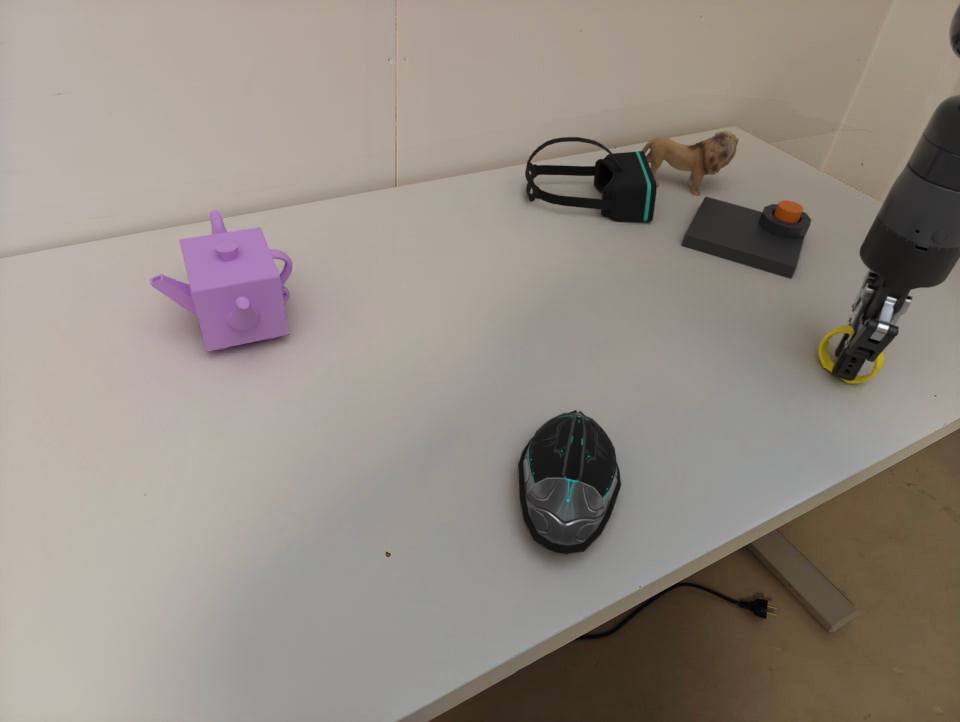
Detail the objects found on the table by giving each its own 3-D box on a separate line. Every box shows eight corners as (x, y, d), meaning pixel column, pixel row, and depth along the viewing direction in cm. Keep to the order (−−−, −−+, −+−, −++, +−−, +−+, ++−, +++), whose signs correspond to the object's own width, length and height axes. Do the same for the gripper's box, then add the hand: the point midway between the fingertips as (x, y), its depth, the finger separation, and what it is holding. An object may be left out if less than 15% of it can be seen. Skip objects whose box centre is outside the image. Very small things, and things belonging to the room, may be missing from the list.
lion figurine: (721, 184, 104) (740, 126, 98) (723, 201, 100) (743, 142, 94) (623, 170, 105) (637, 112, 99) (622, 185, 101) (636, 126, 95)
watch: (806, 363, 74) (829, 319, 70) (819, 354, 75) (842, 310, 71) (859, 395, 70) (886, 351, 66) (872, 385, 72) (899, 341, 68)
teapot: (158, 289, 75) (135, 209, 69) (280, 268, 80) (269, 191, 73) (178, 398, 63) (152, 314, 57) (319, 366, 68) (310, 285, 61)
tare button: (799, 216, 92) (805, 204, 90) (796, 226, 89) (802, 214, 88) (775, 209, 93) (780, 197, 91) (771, 219, 90) (776, 207, 89)
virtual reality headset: (652, 223, 93) (661, 153, 86) (527, 229, 94) (526, 160, 87) (639, 185, 101) (646, 118, 94) (524, 190, 102) (523, 124, 95)
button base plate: (803, 234, 94) (813, 212, 92) (791, 279, 86) (802, 255, 83) (702, 206, 98) (709, 184, 96) (681, 246, 90) (688, 222, 87)
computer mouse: (622, 425, 65) (635, 380, 61) (609, 582, 52) (626, 538, 48) (531, 407, 66) (539, 362, 62) (498, 557, 53) (505, 512, 49)
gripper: (883, 179, 66) (813, 320, 78) (876, 245, 57) (797, 395, 68) (968, 200, 64) (883, 342, 76) (976, 273, 55) (877, 423, 66)
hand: (843, 366), depth 72 cm, fingers closed on watch, 2 cm apart
